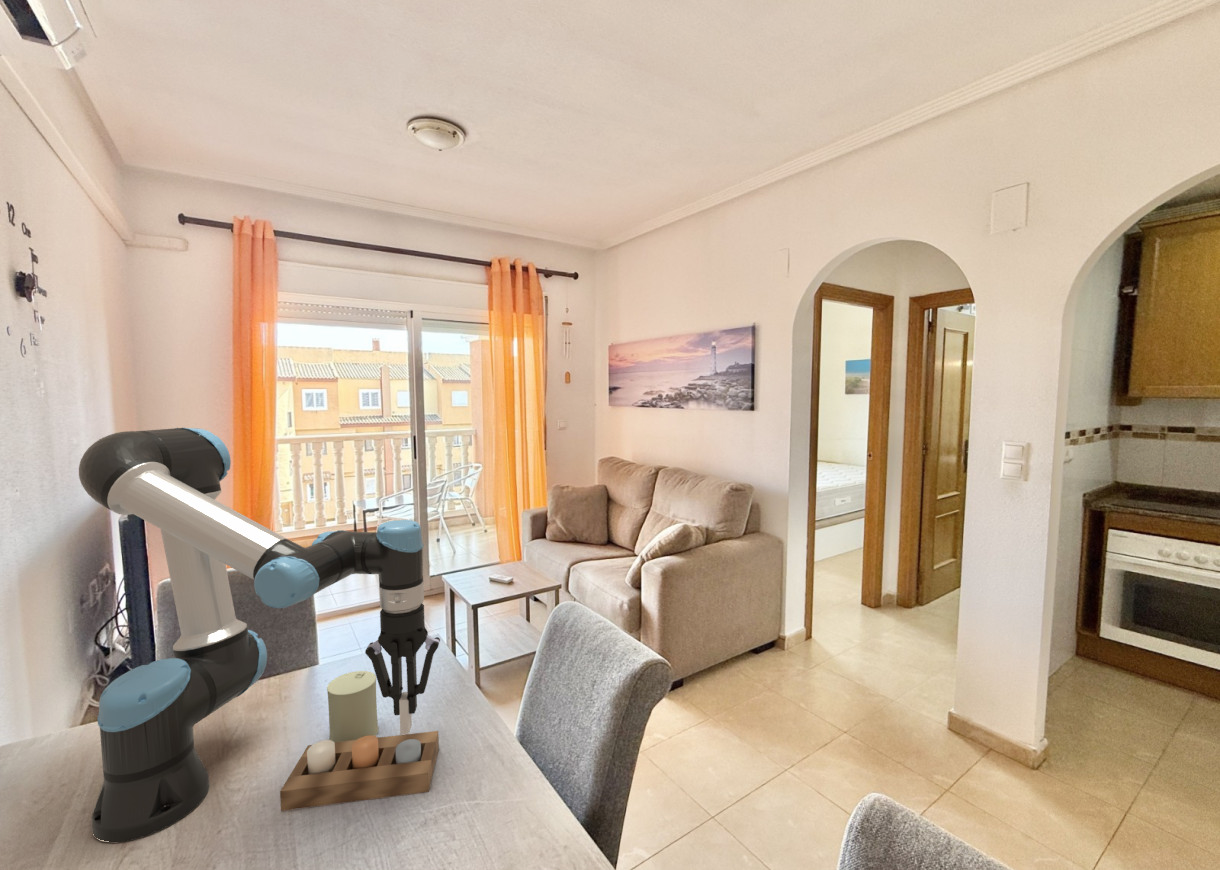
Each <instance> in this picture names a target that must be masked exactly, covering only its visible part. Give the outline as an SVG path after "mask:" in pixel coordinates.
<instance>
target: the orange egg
mask: <svg viewBox="0 0 1220 870" xmlns="http://www.w3.org/2000/svg"><path fill="white" fill-rule="evenodd" d="M378 762H379V749H378V736H377V735H376V736H373V735H368V736H364V737H361V738H359V739H357V740H356V741H355V742H354V743H353V744H352V764H353V769H360V768H368V767H377V765H378Z"/></svg>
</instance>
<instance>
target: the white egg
mask: <svg viewBox="0 0 1220 870" xmlns="http://www.w3.org/2000/svg"><path fill="white" fill-rule="evenodd" d="M311 745H312V746H311V747H309V749H308V750H307V761H308V775H310V774H319V773H327V772H332V771H333V769H334V767H335V765H336V761H335V743H334V742H333V741H331V740H329V739H325V740H324V739H323V740H321V741H317V742H315V743H313V744H311Z"/></svg>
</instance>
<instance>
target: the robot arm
mask: <svg viewBox="0 0 1220 870" xmlns="http://www.w3.org/2000/svg"><path fill="white" fill-rule="evenodd" d="M231 463H232V462H231V455H230V452H229V450H228V447H227V445H226V444H225V442H224V441H223V440H222V439H221V438H220V437H219V436H217V435H215V434H214V433H212V432H211V431H209V430H207V429H203V428H194V427H192V428H191V427H174V428H164V429H163V428H161V429H149V430H136V431H135V430H130V431H128V430H127V431H119V432H115V433H111V434H108V435H106V436H103V437H102V438H100V439H98V440H96V441H95V442H94V443H92V444H91V445H90V446H89V447H88V448H87V449H86V450H85V452H84V453H83V455H82V457H81V458H80V462H79V465H78V479H79V481H80V484H81V486H82V488H83V489H84V491H85V492H86V493H87V494H88V495H89V496H90V497H91V499H93V500H94V501H95V502H96V503H98V504H99V505H101V506H103V507H104V508H106V509H108V510H110V511H112V512H113V513H115V514H118V515H120V516H121V515H122V516H127V515H134V516H137V517H138V518H139V519H141V520H144V521H145V522H148V523H149V524H151V525H153V526H155V527H156V528H158V529H160V534H161V539H162V542H163V543H162V544H163V548H164V554H165V559H166V565H167V569H168V573H169V579H170V584H171V589H172V594H173V601H174V604H175V610H176V615H177V620H178V624H179V630H180V635H179V636H180V637H178V639H177V640H176V641H175V643H174V644H173V645H172V651H173V656H174V658H173V657H170V658H164V659H163V658H162V659H159V660H155V661H151V662H150V663H148V664H142V665H139V666H136V667H134V668H133V669H130V670H128V671H126V672H125V673H123V674H121V675H120V676H118V677H117V678H115V679H114V680H112V682H110V683H108V685H107V687H106V688H105V689H104V690H103V691H102V693H101V694H100V698H99V702H98V714H97V725H98V727H99V734H100V748H101V758H102V759H101V760H102V771H103V782H102V785H101V787H100V790H99V794H98V796H97V800H96V803H95V806H94V808H93V812H92V815H91V832H93V833H92V835H93V834H94V836H95V837H96V838H98V839H100V840H104V841H109V842H118V843H123V842H124V843H125V842H130V841H134V840H138V839H141V838H145V837H147V836H150V835H152V834H154V833H158V832H160V831H161V830H163V829H165V828H167V827H170V826H172V825H173V824H175V823H176V822H179V820H181V819H183V818H185V817H186V816H187V815H188V814H190V813H191V812H193V810H195V809H196V808H197V807H198V806H199V805H200V804H201V803H202V801H203V800H204V799H205V798H206V796H207V795H208V792H209V789H210V777H209V772H208V770H207V768H206V767H205V765H204V763H203V760H202V759H201V758H200V757H201V756H199V754H198V752H197V750H196V748H195V741H194V740H195V739H194V726H195V725H196V724H198V723H199V722H200V721H202V720H203V719H205V718H207V717H208V716H210V715H211V714H212V713H214V712H216V711H217V710H219V709H221V708H222V707H223V706H225V705H226V704H227V703H230V702H231V701H232V700H233V699H235V698H237V697H240V696H241V695H243V694H244V693H245V692H246V691H247V690H249V688H250V687H252V686H253V685H255V684H256V683H257V682H258V680H259V679H260V678H261V677H262V675H263V674H264V672H265V669H266V666H267V663H268V662H267V661H268V651H267V647H266V644H265V642H264V640H263V638H262V637H261V638H259V637H258V636H259V634H258V633H257V632H255V631H253V630H252V629H248V624H247V623H246V622H244V621H242V620H239V619H237V617H236V613H235V605H234V602H233V596H232V590H231V585H230V580H229V575H228V570H227V566H228V567H229V568H231V569H234V570H235V571H237V572H239V573H241V574H243V575H245V576H246V577H248V578H250V579H252V580H254V581H253V587H254V590H255V591H254V592H255V594H256V596H259V597H260V599H261V603H263V604H264V605H266V606H267V607H269V608H273V609H285V608H288V607H291V606H294V605H296V604H298V603H300V602H304V601H306V600H308V599H310V598H311V597H312V596H314V595H315V594H317V593H319V592H321V591H323V590H324V589H326V588H328V587H330V586H332V585H334V584H335V583H338V582H340V581H342V580H343V579H346V578H347V577H349V576H351V575H378V586H379V587H378V589H379V590H378V591H379V594H378V595H379V607H380V608H381V610H380V612H379V618H380V619H379V621H380V622H379V624H380V634H379V636H378V638H377V640H376V641H374V642H373V641H372V642H370V643H369V644H367V645H368V646H367V647H366V649H365V654H366V656H367V657H368V659H369V660H370V661H371V664H372V667H373V670H374V674H375V675H376V681H377V682H378V686H379V689H380V693H381V696H382V697H383V698H391V699H392V701H393V714H394V716H399V732H400V733H399V735H405V734H410V731H411V729H412V725H413V724H412V722H413V721H412V720H413V719H412V714H415V713H416V710H417V708H418V700H417V699H418V697H417V695H423V694H424V693H425V690H426V687H427V686H428V680H429V675H430V672H431V666H432V663H433V658H434V654H435V653H436V651H437V650H438V648H439V646H440V643H441V638H439V637H433V636H431V635H429V632H428V630H427V628H426V625H425V605H424V604H423V602H424V601H425V592H424V591H425V590H424V589H425V588H424V573H423V571H424V569H423V549H424V548H423V547H424V542H423V537H422V536H423V535H422V528H421V525H420V523H419V522H418V521H416V520H411V519H401V520H399V519H398V520H395V519H394V520H390V521H389V520H388V521H385V522H383V523H380V524H379V525H378V527H377V530H376V532H375V531H374V532H370V531H350V530H349V531H348V530H343V529H342V530H333V531H332V530H331V531H330V530H329V531H323V532H322V533H319V535H317V537H316V539H314V540H313V541H312V544H311V545H309V546H307V547H305V546H302V545H301V544H298V543H296V542H294V541H293V540H290V539H288V538H286V537H285V536H282V535H280V534H278V532H276V531H273V530H272V529H270V528H268V527H267V526H264V525H262V524H260V523H259V522H257V521H255V520H253V519H251V518H249V517H248V516H246V515H244V514H241V513H240V512H238V511H236V510H234V509H233V508H230V507H229V506H227V505H225V504H223V503H222V502H220V501H218V500H216V499H217V498H218V497H219V495H220V494H221V493H222V487H221V483H220V482H221V481H223V480H224V479H225V478H226V477H227V476H228V471H229V470H230V469H231ZM424 643H425V646H424V649H425V650H427V651H426V655H425V656H424V661H423V662H424V663H423V666H422V671H421V675H420V679H419V683H418V680H417V679H418V678H417V653H418V651H419V650H420V648H421V647H422V646H423V645H424ZM382 648H383V649H382ZM382 650H384V651H385V652H386V653H387V654H388V656H389V657H390V665H391V678H390V675H389V671H388V668H387V665H386V662H385V659H384V655H383V653H382ZM402 658H405V664H406V684H407V685H406V688H407V691H405V692H403V690H404V687H403V664H402V660H403V659H402ZM94 836H93V837H94ZM95 837H94V838H95ZM96 838H95V839H96Z"/></svg>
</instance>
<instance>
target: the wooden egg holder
mask: <svg viewBox="0 0 1220 870" xmlns="http://www.w3.org/2000/svg"><path fill="white" fill-rule="evenodd" d="M439 735H440V734H439V730H434V731H433V730H432V731H425V732H424V731H423V732H416V733H414V732H413V733H409V734H401V735H400V734H398V735H397V734H396V735H389V736H388V735H387V736H379V737H378V736H377V738H378V749H379V762H378V765H377V767H368V768H360V769H353V764H352V744H353V743H354V742H355V741H356V740H352V741H343V742H334V743H335V761H336V765H335V767H334V769H333V771H332V772H327V773H319V774H310V775H308V761H307V750H308V749H309V747H311V746H312V745H313V744H309V745H307V747H306V748H304V751H303V752H302V754H301V756H300V758H299V759H298V761H297V763H296V764H295V766H294V768H293V769H292V771H291V772H290V774H289V776H288V778H287V779H286V780H285V783H284V784H283V786H282V787H281V789H280V791H279V797H280V799H279V801H280V811H281V812H283V811H284V812H285V811H291V810H298V809H299V810H300V809H307V808H313V807H322V806H328V805H329V806H331V805H337V804H344V803H351V802H353V803H354V802H359V801H367V800H368V801H369V800H376V799H382V798H383V799H384V798H391V797H398V796H399V797H400V796H405V795H413V794H422V793H429V791H430V789H431V784H432V779H433V775H434V770H435V766H436V762H437V759H438V758H437V757H438V754H439V748H440V742H439V741H440V740H439V739H440V737H439ZM409 739H416V740H419V741H420V743H421V761H418V762H410V763H401V764H396V747H397V745H398V744H400V743H401V742H403V741H405V740H409Z"/></svg>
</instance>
